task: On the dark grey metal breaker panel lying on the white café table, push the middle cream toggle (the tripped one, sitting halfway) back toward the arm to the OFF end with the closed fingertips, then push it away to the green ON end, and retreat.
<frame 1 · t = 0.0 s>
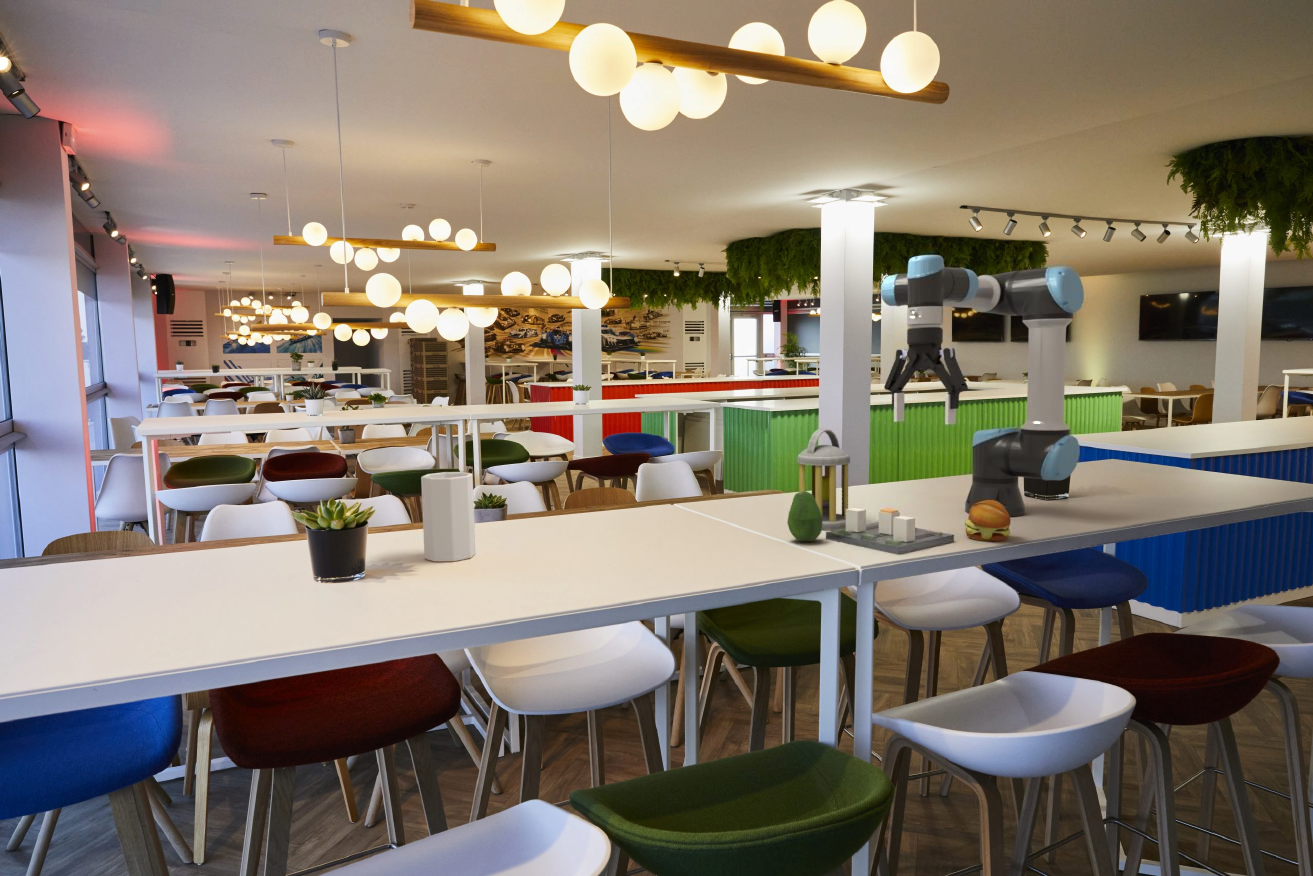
hand: (924, 422, 184), 28 cm above the table, fingers open, 13 cm apart
panel: (889, 540, 193), on the table
lantern: (823, 525, 213), on the table
toggle low: (855, 519, 196), point 4 cm above the table, slide at 3.5 cm
avocado: (805, 542, 193), on the table
cup: (450, 557, 185), on the table
toggle mid: (889, 521, 193), point 4 cm above the table, slide at 0.0 cm
toggle high: (904, 528, 185), point 4 cm above the table, slide at 3.5 cm
cheeseburger: (988, 539, 193), on the table
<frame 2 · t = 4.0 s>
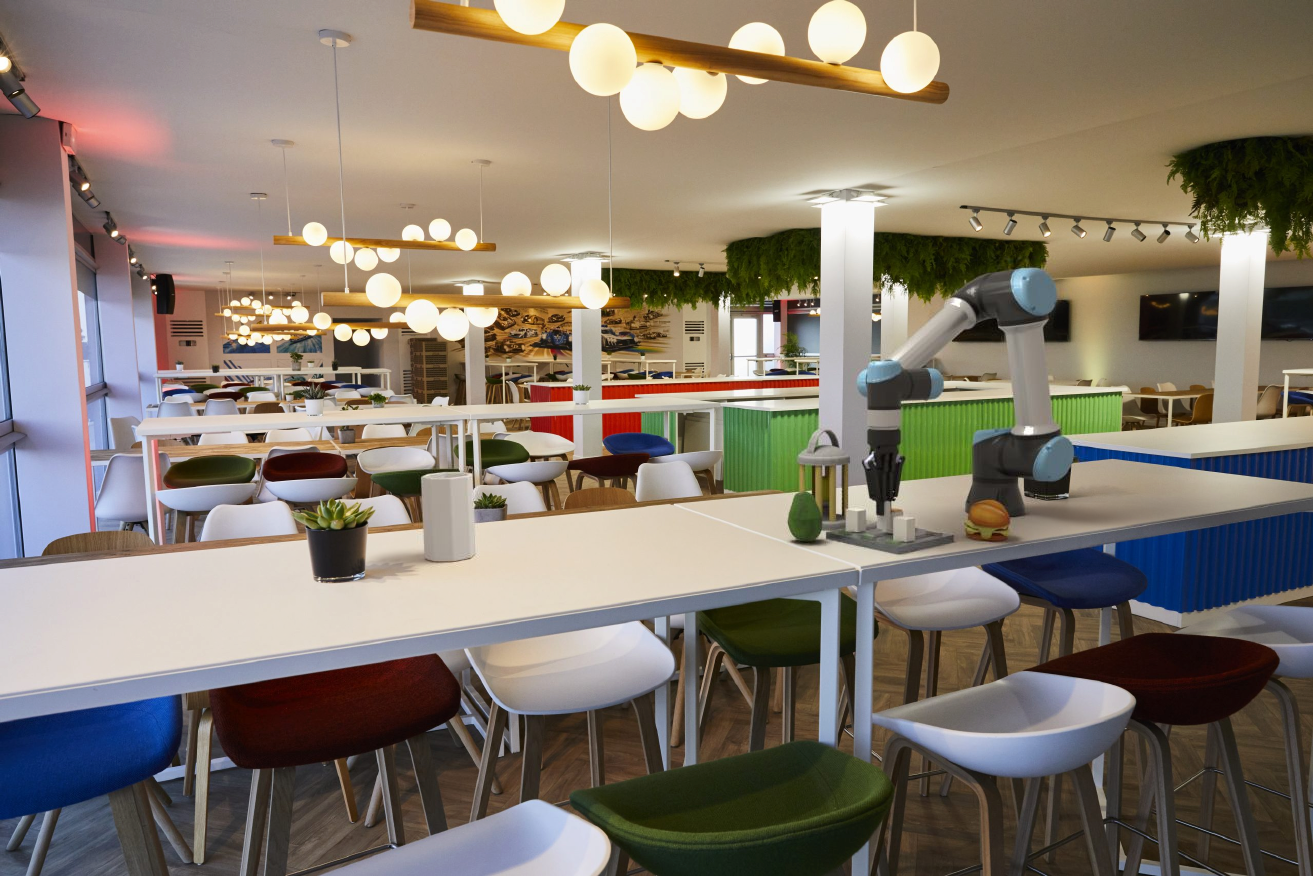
hand: (883, 528, 192), 3 cm above the table, fingers closed
toggle mid: (892, 520, 193), point 4 cm above the table, slide at -1.4 cm, touching gripper
everything else where it was.
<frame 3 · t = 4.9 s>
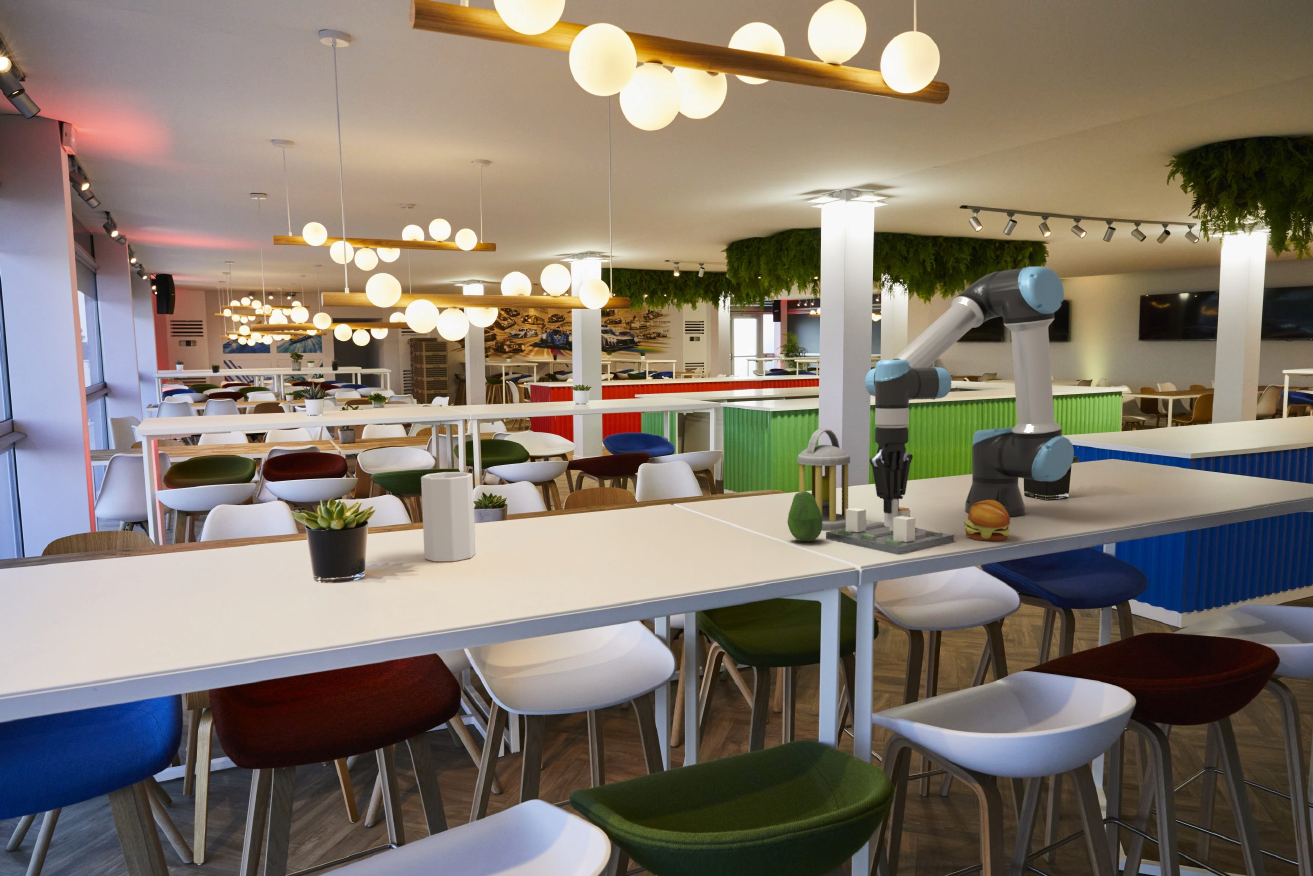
hand: (891, 526, 193), 3 cm above the table, fingers closed
toggle mid: (900, 519, 195), point 4 cm above the table, slide at -4.0 cm, touching gripper
everything else where it was.
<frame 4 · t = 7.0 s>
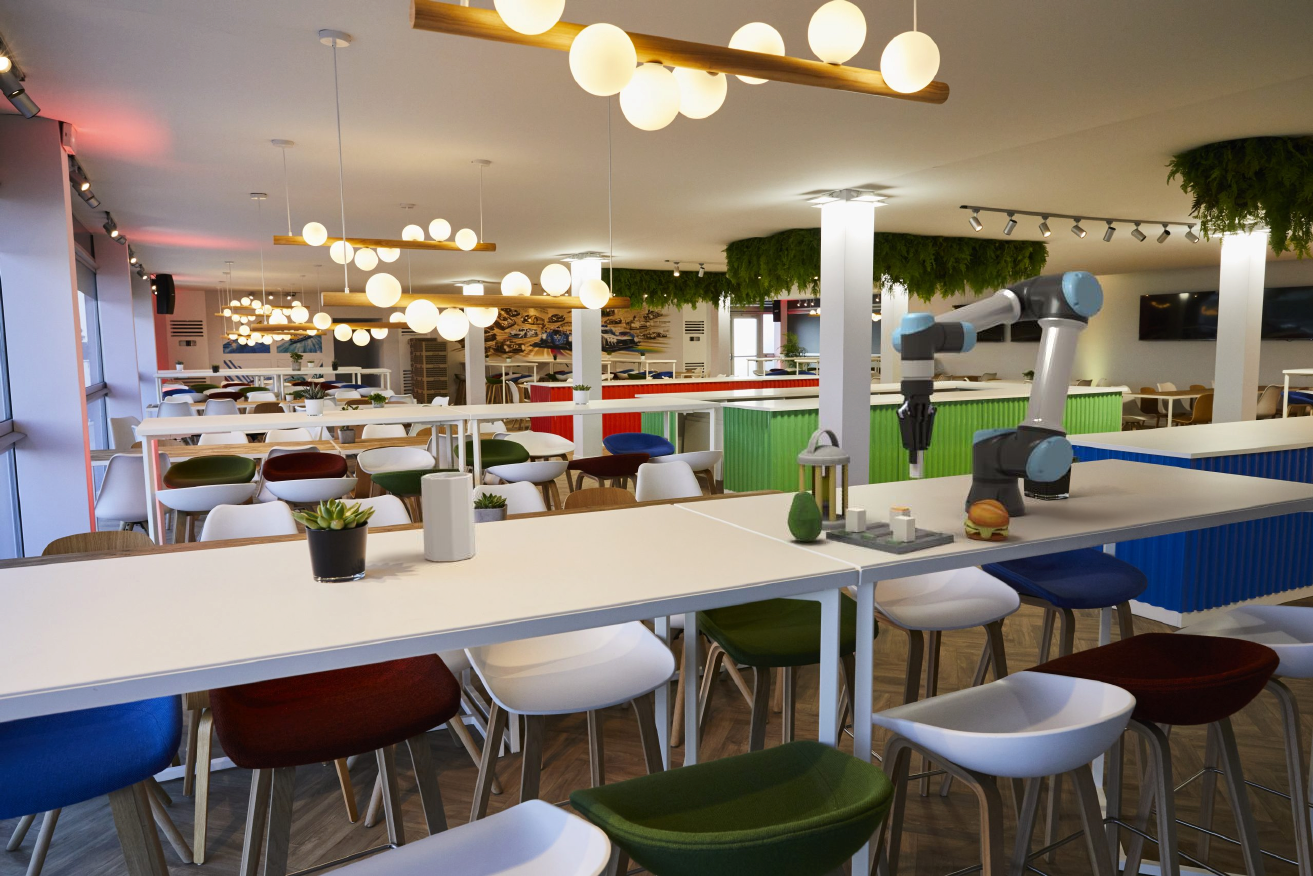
hand: (916, 477, 198), 14 cm above the table, fingers closed
toggle mid: (900, 519, 195), point 4 cm above the table, slide at -4.0 cm
everything else where it was.
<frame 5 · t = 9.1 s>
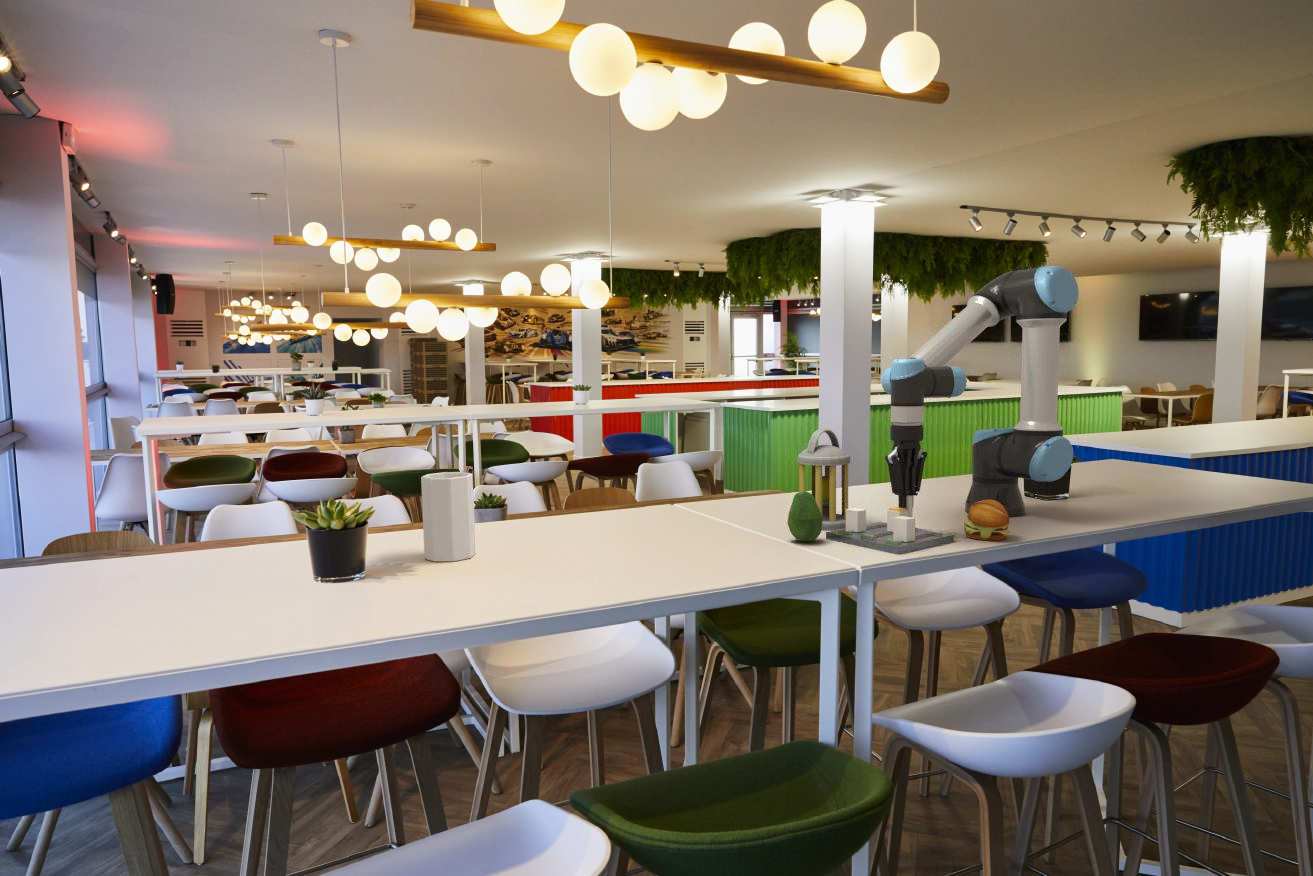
hand: (905, 522, 196), 3 cm above the table, fingers closed
toggle mid: (897, 519, 194), point 4 cm above the table, slide at -3.0 cm, touching gripper
everything else where it was.
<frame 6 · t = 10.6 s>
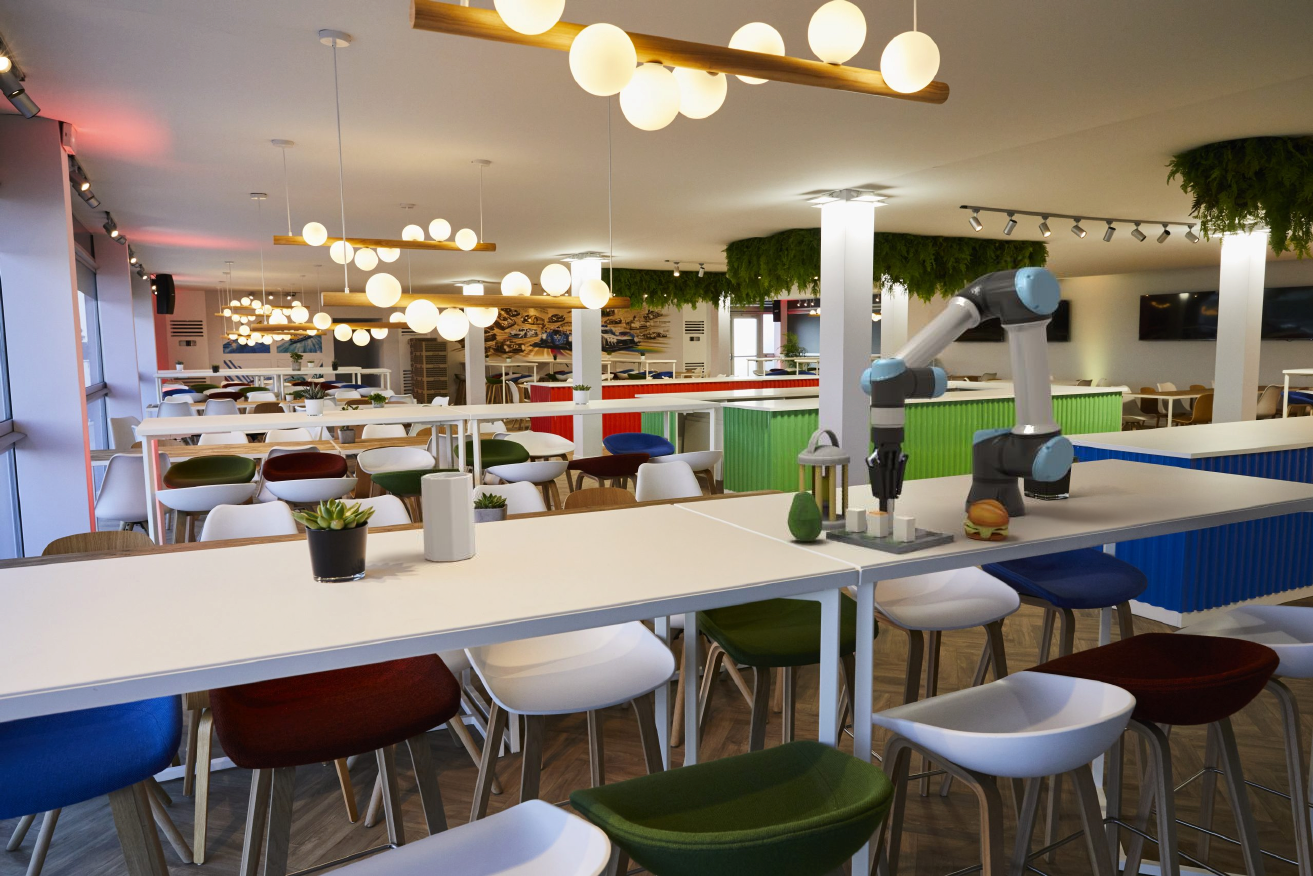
hand: (886, 526, 192), 3 cm above the table, fingers closed
toggle mid: (877, 523, 190), point 4 cm above the table, slide at 4.0 cm, touching gripper
everything else where it was.
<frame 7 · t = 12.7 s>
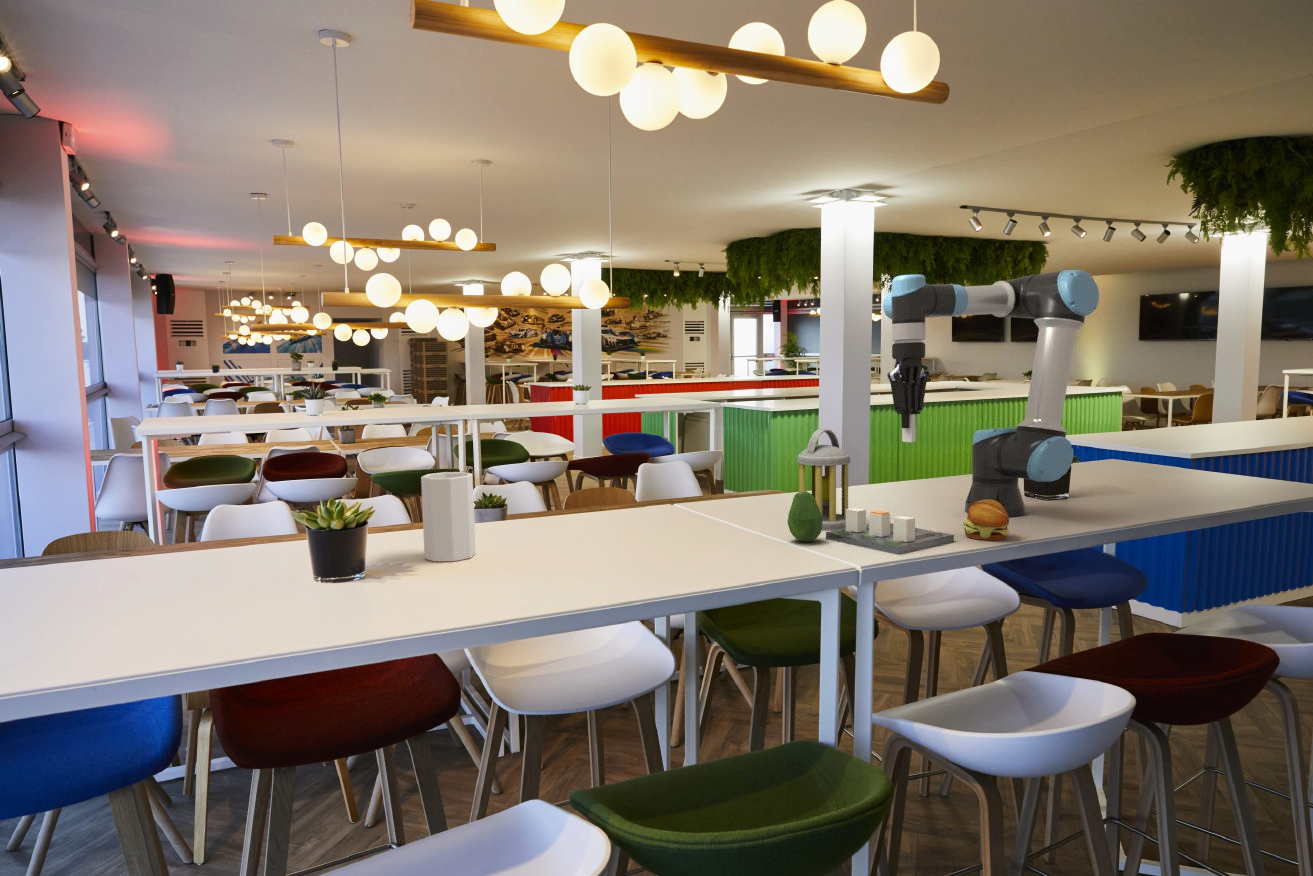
hand: (908, 441, 196), 23 cm above the table, fingers closed
toggle mid: (879, 523, 191), point 4 cm above the table, slide at 3.4 cm
everything else where it was.
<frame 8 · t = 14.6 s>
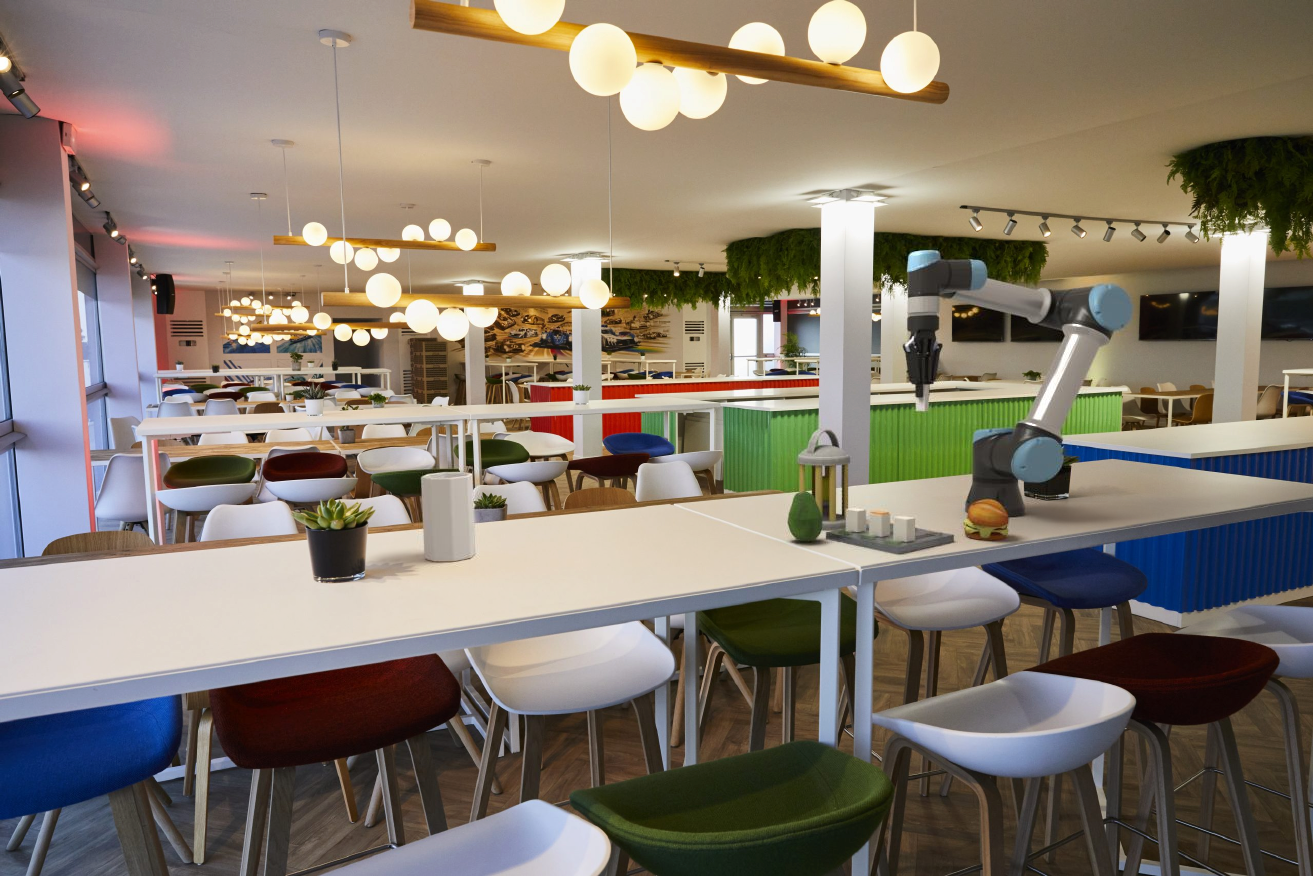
hand: (922, 410, 205), 29 cm above the table, fingers closed
at the end: toggle mid slide at 3.4 cm; toggle low slide at 3.5 cm; toggle high slide at 3.5 cm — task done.
